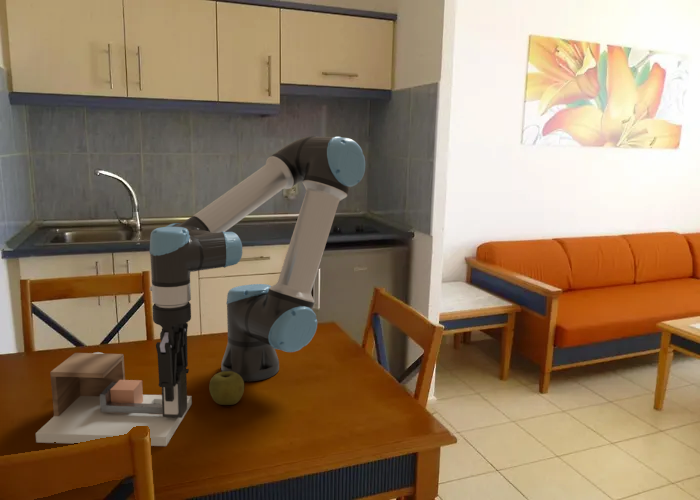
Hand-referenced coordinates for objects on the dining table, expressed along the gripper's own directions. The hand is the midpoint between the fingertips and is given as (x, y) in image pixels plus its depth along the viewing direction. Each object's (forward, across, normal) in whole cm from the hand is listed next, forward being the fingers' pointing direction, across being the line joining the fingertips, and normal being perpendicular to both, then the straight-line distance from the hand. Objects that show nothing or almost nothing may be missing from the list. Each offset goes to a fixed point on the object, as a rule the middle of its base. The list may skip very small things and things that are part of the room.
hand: (175, 407), depth 119 cm
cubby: (+2, -4, -20) cm, 20 cm away
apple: (+4, -11, +9) cm, 14 cm away
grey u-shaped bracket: (+1, -2, -7) cm, 7 cm away
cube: (+2, -4, -12) cm, 13 cm away
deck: (+4, -1, -12) cm, 13 cm away
